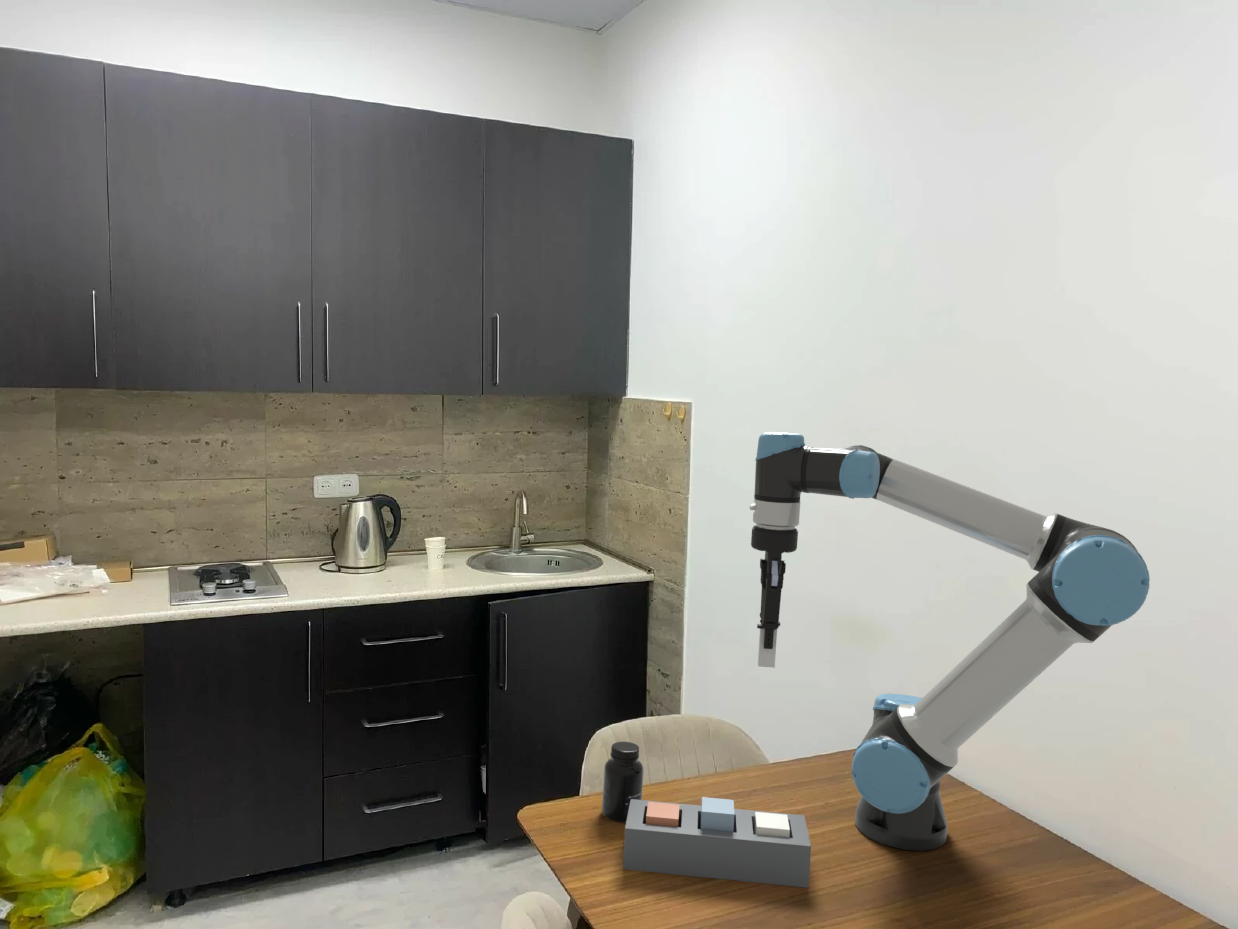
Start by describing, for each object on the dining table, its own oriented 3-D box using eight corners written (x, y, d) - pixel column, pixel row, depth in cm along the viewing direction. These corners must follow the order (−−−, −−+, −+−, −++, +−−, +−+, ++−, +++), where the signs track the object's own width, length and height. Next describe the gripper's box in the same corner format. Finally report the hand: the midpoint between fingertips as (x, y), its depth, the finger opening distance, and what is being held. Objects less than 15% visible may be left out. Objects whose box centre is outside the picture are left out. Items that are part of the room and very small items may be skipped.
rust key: (677, 834, 144) (679, 804, 144) (676, 850, 139) (678, 819, 139) (646, 831, 145) (648, 801, 144) (644, 847, 140) (646, 816, 139)
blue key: (731, 830, 143) (733, 800, 143) (732, 846, 138) (734, 814, 138) (700, 827, 144) (702, 797, 143) (699, 842, 139) (701, 811, 138)
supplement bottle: (637, 825, 152) (640, 757, 151) (597, 820, 153) (601, 751, 152) (644, 807, 158) (647, 741, 157) (606, 802, 160) (609, 736, 159)
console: (801, 854, 145) (804, 815, 144) (808, 888, 135) (811, 846, 135) (628, 837, 148) (630, 799, 147) (622, 869, 138) (625, 828, 137)
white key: (785, 845, 143) (787, 814, 142) (787, 861, 138) (789, 830, 137) (753, 842, 143) (755, 811, 143) (754, 858, 138) (756, 826, 138)
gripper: (750, 519, 155) (742, 652, 157) (754, 530, 142) (745, 676, 144) (794, 521, 154) (785, 656, 156) (802, 533, 141) (792, 679, 143)
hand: (766, 665), depth 150 cm, fingers closed
